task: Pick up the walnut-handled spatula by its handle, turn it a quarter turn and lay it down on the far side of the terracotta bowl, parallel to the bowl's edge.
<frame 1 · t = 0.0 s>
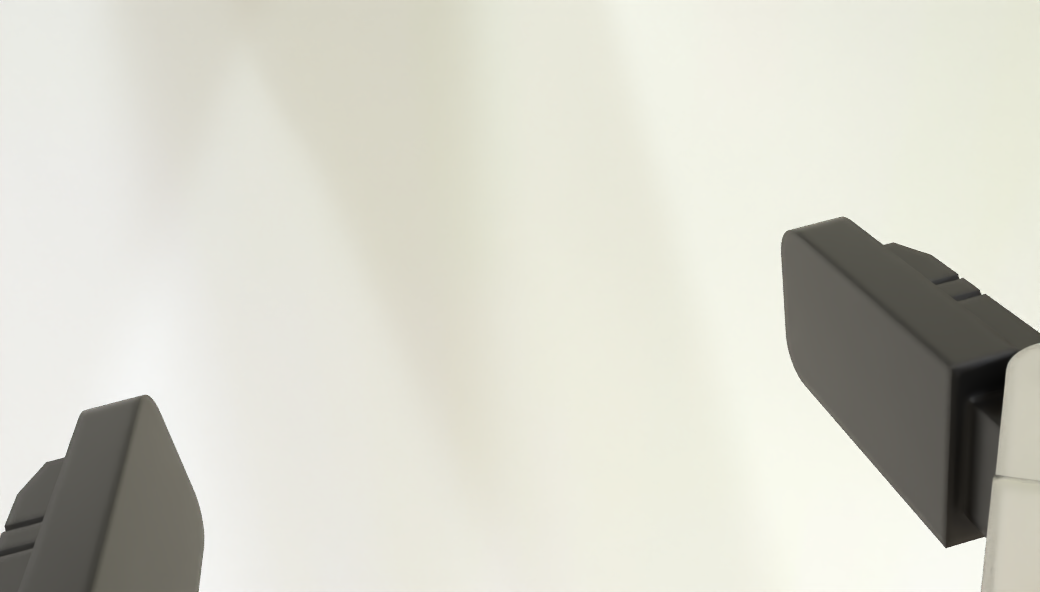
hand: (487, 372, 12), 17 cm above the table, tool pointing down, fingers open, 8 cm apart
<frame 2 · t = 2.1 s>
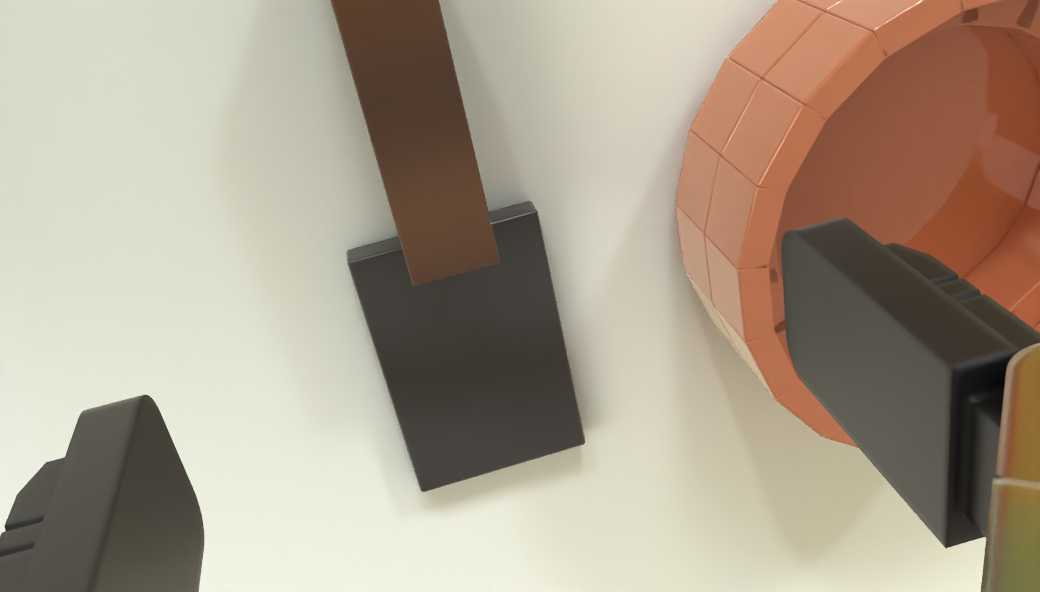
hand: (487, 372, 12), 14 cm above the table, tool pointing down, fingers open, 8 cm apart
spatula: (439, 224, 27), on the table
bowl: (884, 167, 29), on the table
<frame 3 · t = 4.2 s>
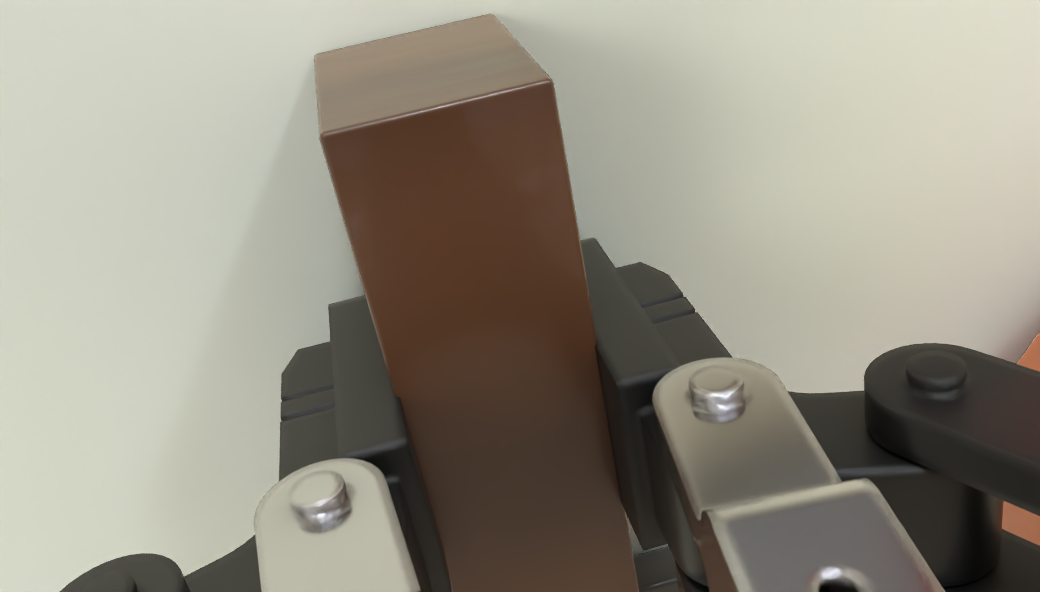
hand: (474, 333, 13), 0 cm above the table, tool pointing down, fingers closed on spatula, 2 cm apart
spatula: (533, 582, 16), on the table, touching gripper
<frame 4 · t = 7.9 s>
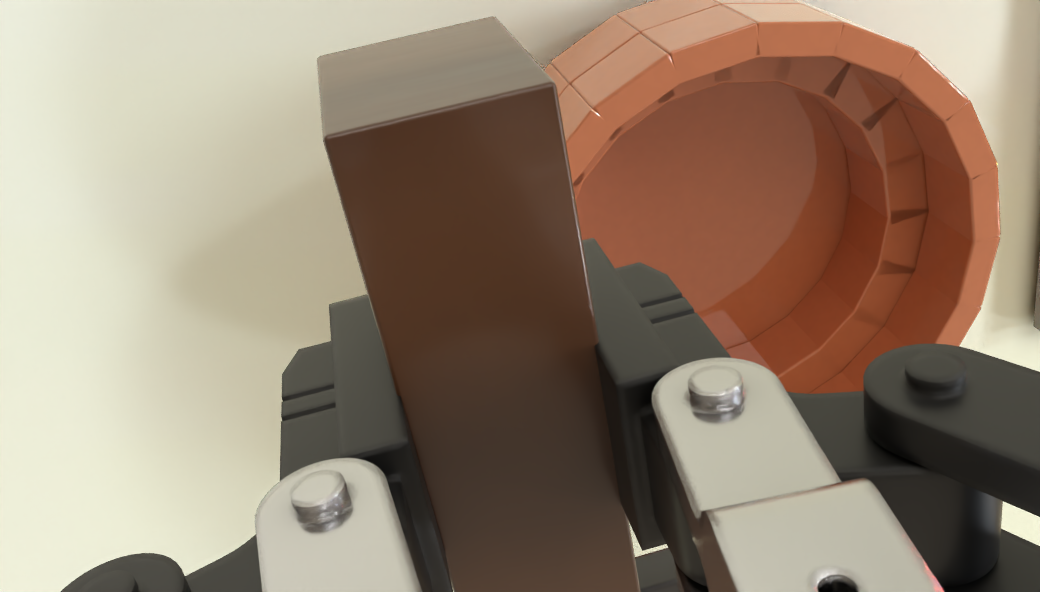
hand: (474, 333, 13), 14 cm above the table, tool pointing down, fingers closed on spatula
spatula: (535, 583, 16), point 14 cm above the table, touching gripper
bowl: (692, 212, 30), on the table
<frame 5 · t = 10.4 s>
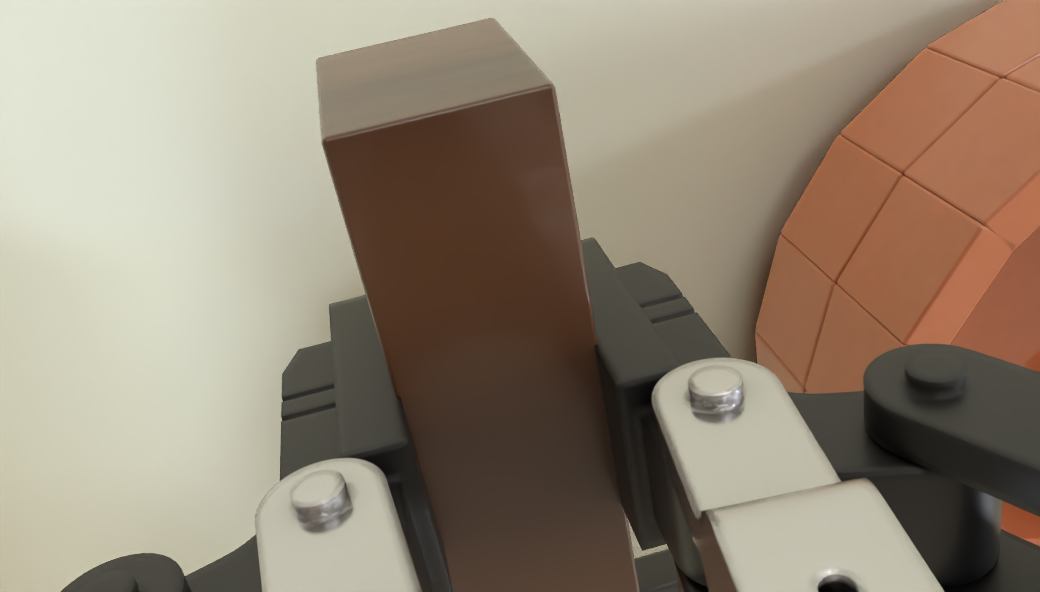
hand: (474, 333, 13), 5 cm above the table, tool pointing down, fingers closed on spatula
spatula: (534, 584, 16), point 5 cm above the table, touching gripper
bowl: (1036, 280, 21), on the table
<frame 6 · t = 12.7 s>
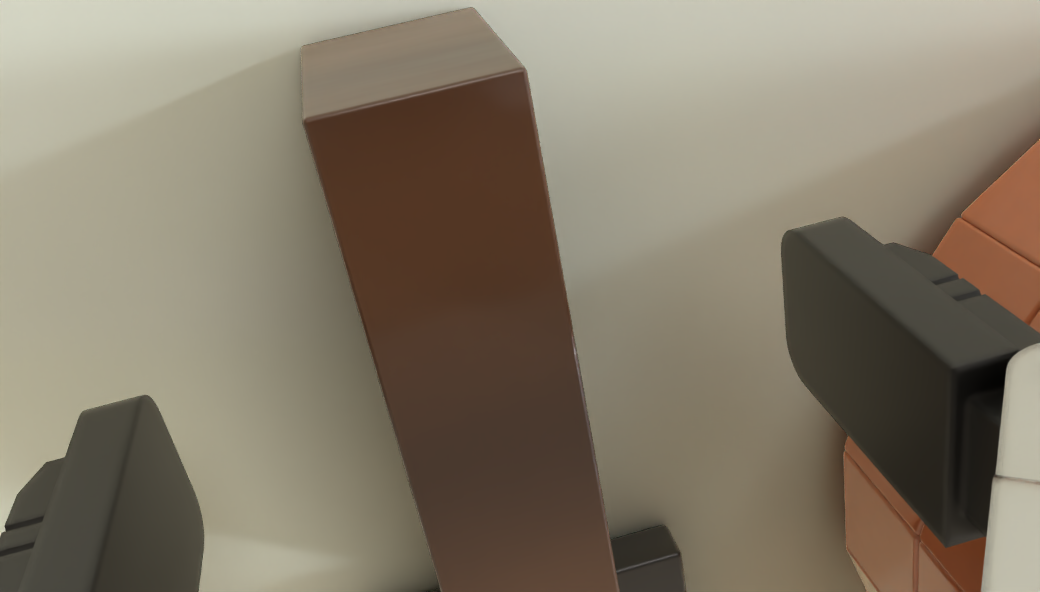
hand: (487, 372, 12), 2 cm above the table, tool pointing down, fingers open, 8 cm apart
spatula: (517, 563, 16), on the table
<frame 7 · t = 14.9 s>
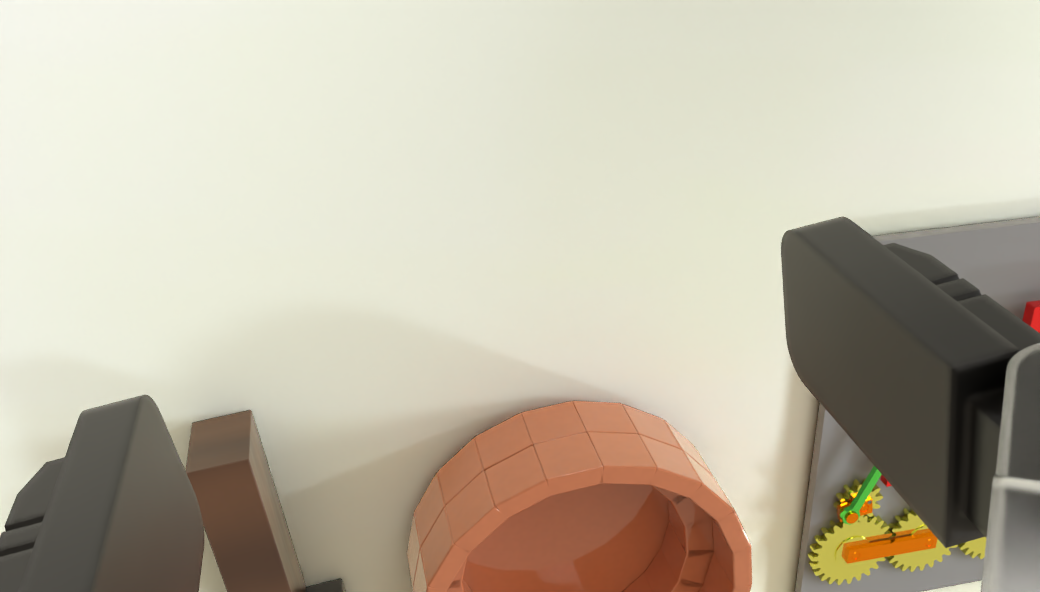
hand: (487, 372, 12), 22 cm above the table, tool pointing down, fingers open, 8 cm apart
bowl: (560, 524, 43), on the table
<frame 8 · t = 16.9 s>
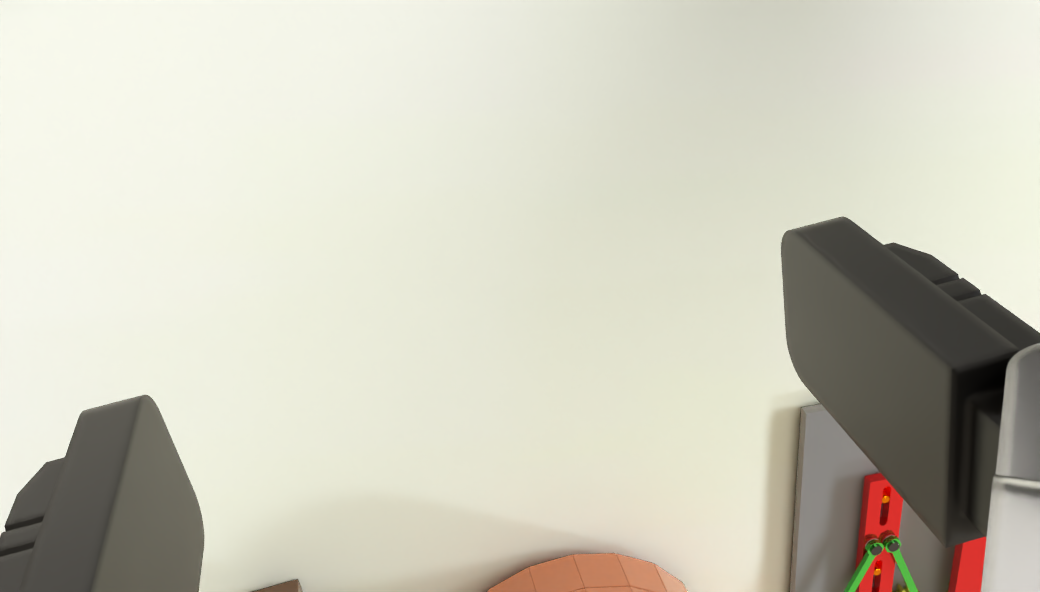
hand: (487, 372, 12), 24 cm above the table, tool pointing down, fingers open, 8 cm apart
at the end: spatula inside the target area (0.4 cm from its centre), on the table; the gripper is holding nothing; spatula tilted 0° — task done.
